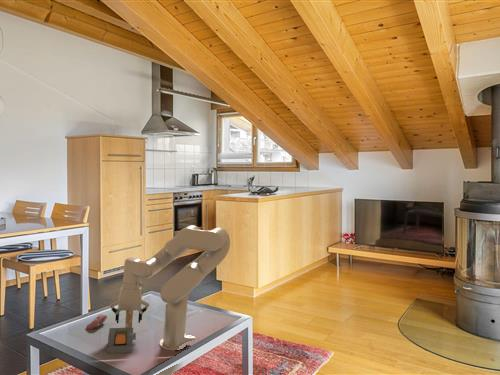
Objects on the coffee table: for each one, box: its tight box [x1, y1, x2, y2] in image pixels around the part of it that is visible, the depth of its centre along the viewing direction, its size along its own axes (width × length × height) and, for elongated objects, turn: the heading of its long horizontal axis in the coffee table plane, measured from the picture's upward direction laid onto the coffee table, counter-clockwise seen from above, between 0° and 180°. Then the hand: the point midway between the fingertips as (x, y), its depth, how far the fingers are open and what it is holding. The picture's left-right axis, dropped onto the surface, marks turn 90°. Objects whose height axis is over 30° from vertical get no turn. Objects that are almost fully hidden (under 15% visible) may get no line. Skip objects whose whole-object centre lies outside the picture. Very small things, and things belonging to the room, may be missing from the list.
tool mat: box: [133, 332, 137, 341], centre depth 180 cm, size 7×7×1 cm
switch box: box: [106, 326, 134, 354], centre depth 170 cm, size 10×10×7 cm
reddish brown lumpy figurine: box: [85, 313, 108, 330], centre depth 189 cm, size 10×5×7 cm
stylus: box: [124, 311, 134, 328], centre depth 180 cm, size 3×3×14 cm
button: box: [115, 334, 126, 345], centre depth 170 cm, size 4×4×2 cm
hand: (128, 321), depth 180 cm, fingers open, 9 cm apart
